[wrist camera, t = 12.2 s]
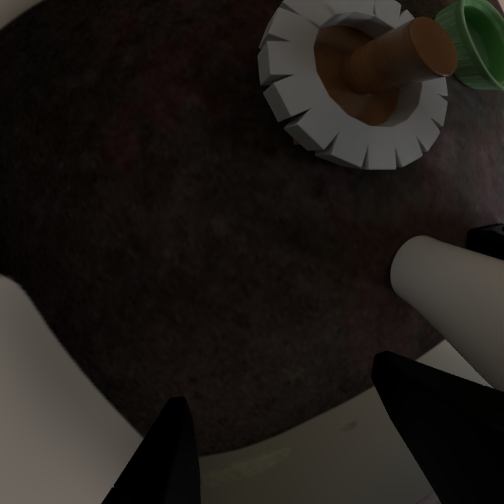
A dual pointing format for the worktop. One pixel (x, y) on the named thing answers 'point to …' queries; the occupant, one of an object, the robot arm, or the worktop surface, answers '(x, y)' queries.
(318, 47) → the wooden peg stand
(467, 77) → the ramekin
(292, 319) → the worktop surface
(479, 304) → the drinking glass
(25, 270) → the worktop surface
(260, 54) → the segmented block ring
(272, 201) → the worktop surface
